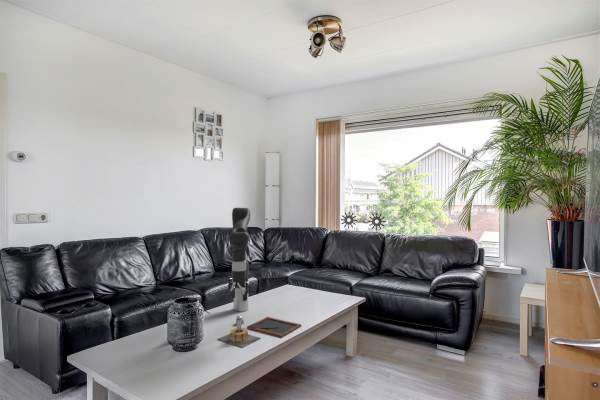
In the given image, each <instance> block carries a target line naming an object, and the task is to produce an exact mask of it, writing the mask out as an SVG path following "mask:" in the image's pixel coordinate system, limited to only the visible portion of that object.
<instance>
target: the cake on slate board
mask: <svg viewBox="0 0 600 400" xmlns="http://www.w3.org/2000/svg"><path fill="white" fill-rule="evenodd" d="M217 340H218V341H220V342H223V343H226V344H230V345H233V346H235V347H238V348H242V349H243V348H245V347H247V346H249V345H251V344H253V343H255V342H257V341H259V340H261V337H257V336H256V335H252V334H249V329H247V328H246V327H241V332H240V333H237V327H236V328H233V329H231V330H230V332H229V333H228V334H225V335H224V336H221V337H219V338H217Z"/></svg>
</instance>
